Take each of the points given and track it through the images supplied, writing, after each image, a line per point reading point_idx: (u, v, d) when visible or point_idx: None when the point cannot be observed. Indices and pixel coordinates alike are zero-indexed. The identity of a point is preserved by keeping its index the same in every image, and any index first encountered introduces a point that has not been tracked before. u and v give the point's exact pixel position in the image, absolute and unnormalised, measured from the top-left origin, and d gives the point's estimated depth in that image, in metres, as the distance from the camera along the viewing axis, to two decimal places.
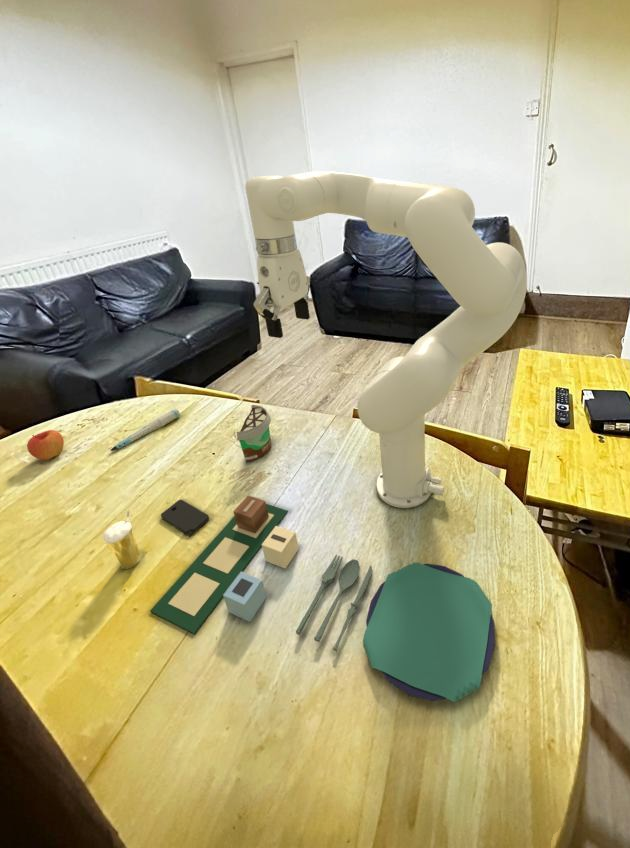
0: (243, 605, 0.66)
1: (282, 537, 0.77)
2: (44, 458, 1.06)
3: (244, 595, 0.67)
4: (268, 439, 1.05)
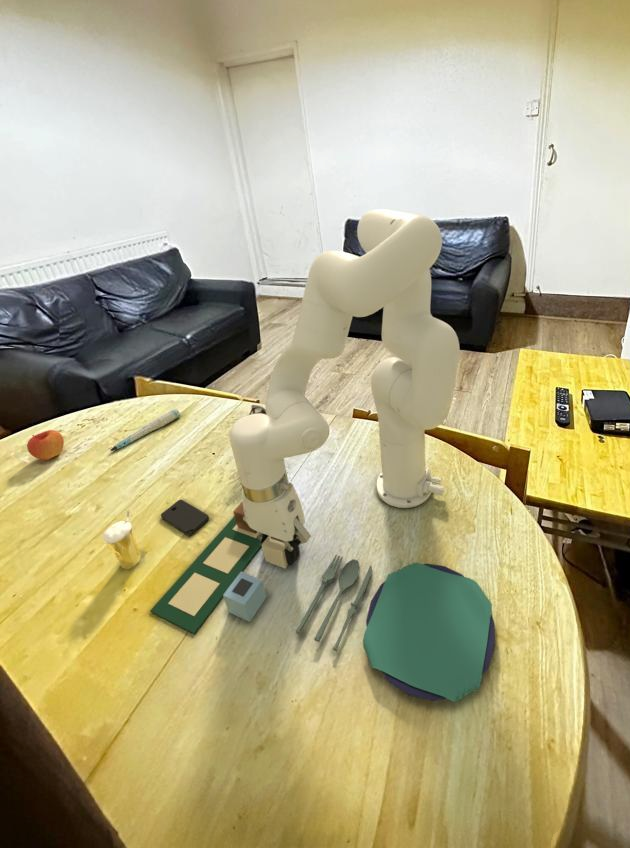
0: (243, 605, 0.66)
1: None
2: (44, 458, 1.06)
3: (244, 595, 0.67)
4: None
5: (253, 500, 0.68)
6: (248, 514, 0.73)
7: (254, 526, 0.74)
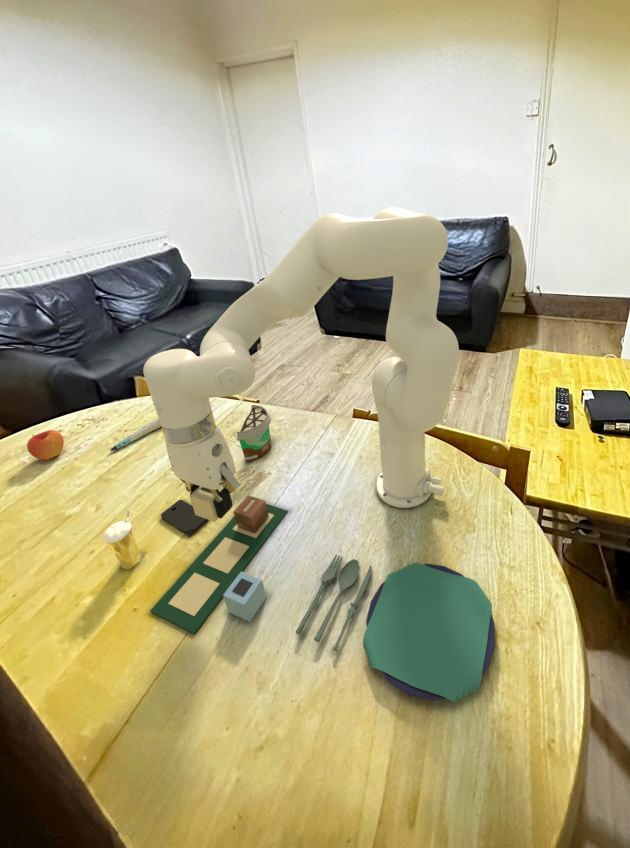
0: (243, 605, 0.66)
1: None
2: (44, 458, 1.06)
3: (244, 595, 0.67)
4: (268, 439, 1.05)
5: (172, 441, 0.63)
6: (173, 461, 0.68)
7: (180, 475, 0.69)
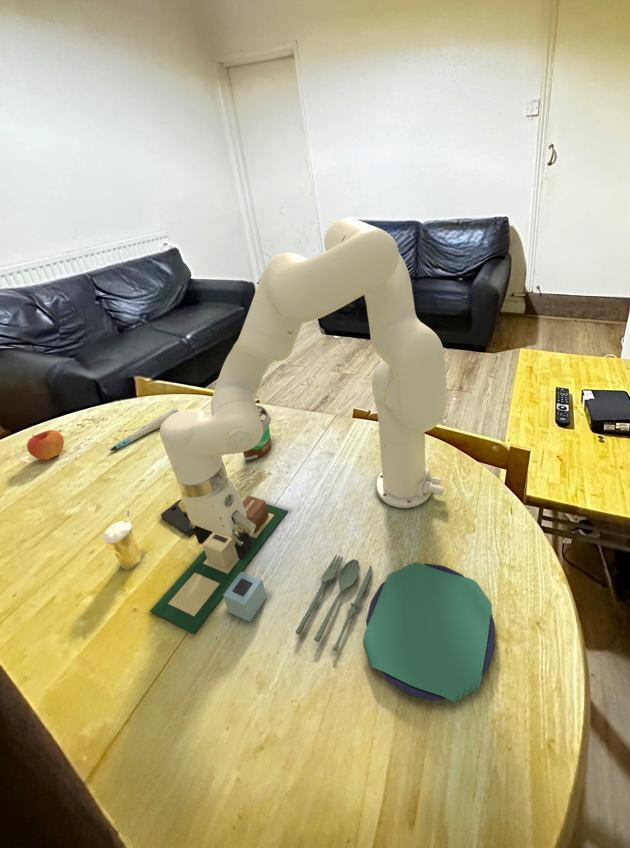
0: (243, 605, 0.66)
1: (223, 537, 0.77)
2: (44, 458, 1.06)
3: (244, 595, 0.67)
4: (268, 439, 1.05)
5: (188, 495, 0.68)
6: (188, 509, 0.73)
7: (195, 522, 0.74)
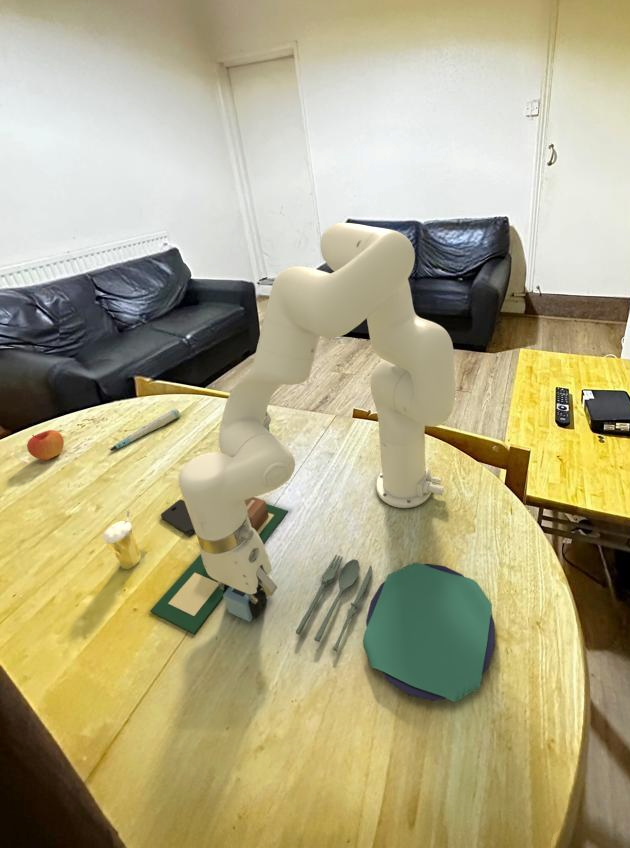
0: (243, 605, 0.66)
1: None
2: (44, 458, 1.06)
3: (244, 595, 0.67)
4: None
5: (208, 551, 0.60)
6: (206, 563, 0.65)
7: (214, 576, 0.66)
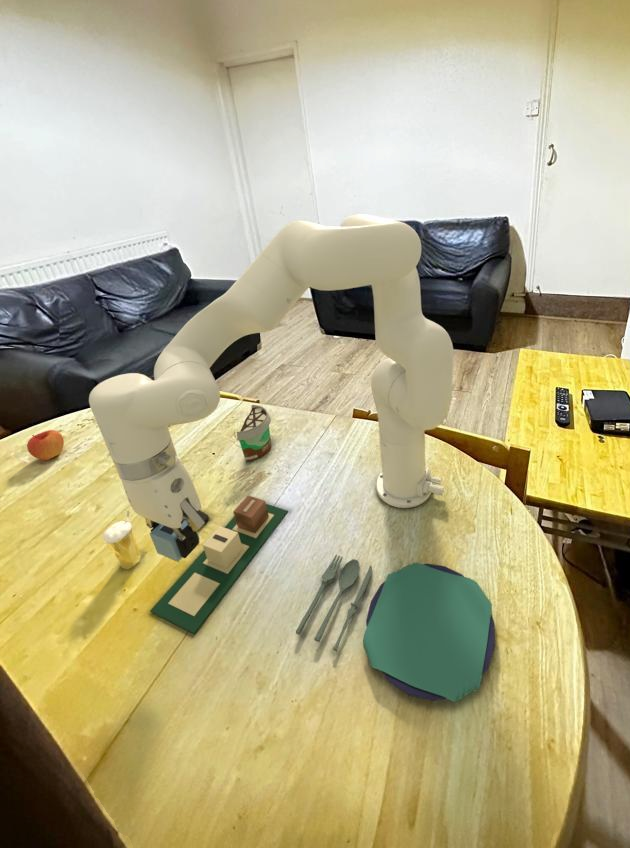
0: (170, 542, 0.62)
1: (223, 537, 0.77)
2: (44, 458, 1.06)
3: (172, 533, 0.64)
4: (268, 439, 1.05)
5: (125, 477, 0.56)
6: (129, 496, 0.61)
7: (139, 511, 0.62)
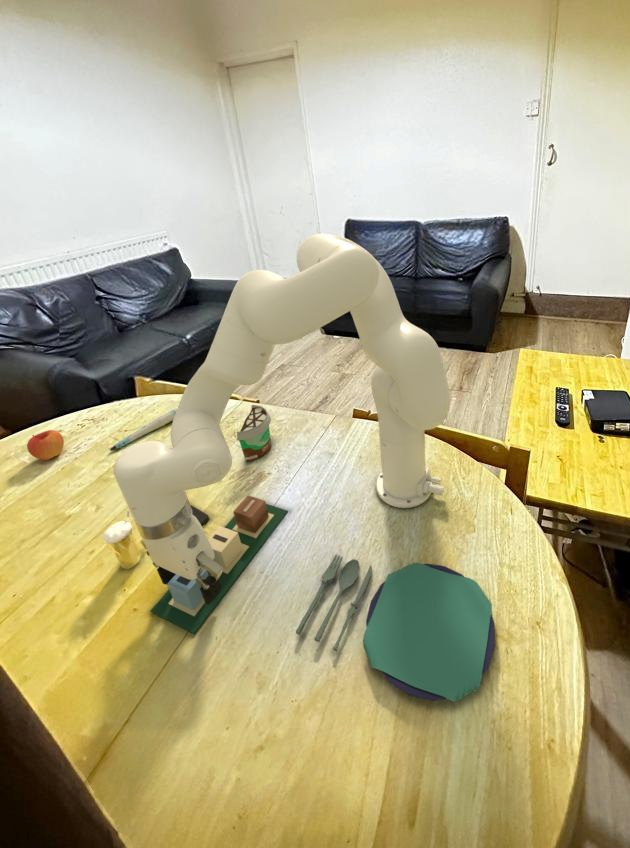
0: (186, 593, 0.68)
1: (223, 537, 0.77)
2: (44, 458, 1.06)
3: (188, 583, 0.69)
4: (268, 439, 1.05)
5: (146, 537, 0.61)
6: (149, 549, 0.66)
7: (157, 563, 0.68)
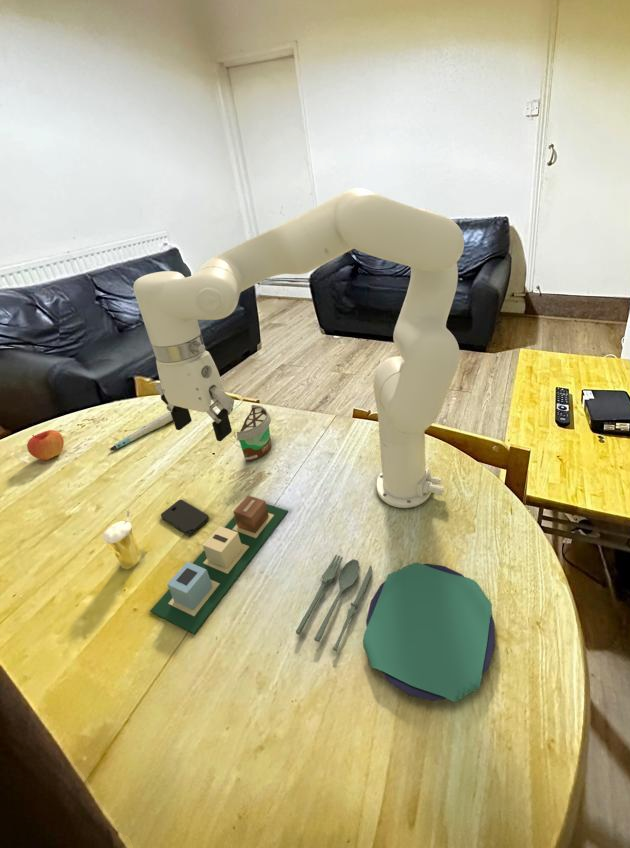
0: (186, 593, 0.68)
1: (223, 537, 0.77)
2: (44, 458, 1.06)
3: (188, 583, 0.69)
4: (268, 439, 1.05)
5: (163, 360, 0.65)
6: (164, 385, 0.70)
7: (172, 400, 0.71)
